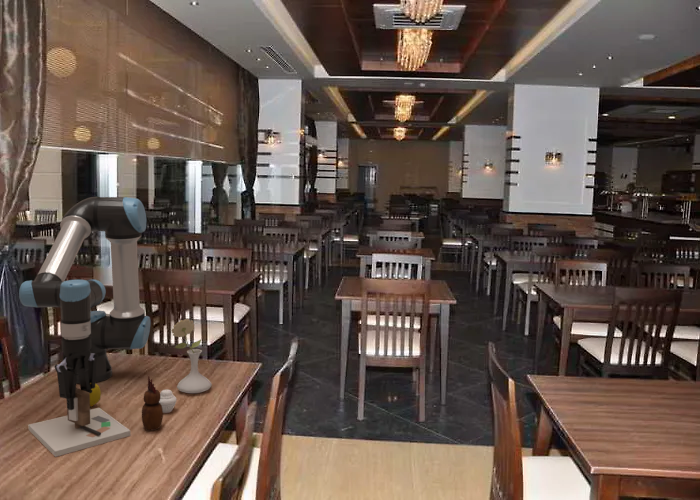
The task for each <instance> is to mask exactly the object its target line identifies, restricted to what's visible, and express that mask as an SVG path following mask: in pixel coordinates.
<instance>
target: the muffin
mask: <svg viewBox="0 0 700 500" xmlns="http://www.w3.org/2000/svg"><path fill="white" fill-rule="evenodd" d="M177 400H178V399H177V397H176V396H175V395H174V394H173V391H172V390H171V389H162V390H161V391H160V401H159V403H160V404H161V405H162V410H163V414H168V413H171V412H173V409H174V407H175V406H176V403H177Z"/></svg>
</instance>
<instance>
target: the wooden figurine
mask: <svg viewBox="0 0 700 500" xmlns="http://www.w3.org/2000/svg"><path fill="white" fill-rule="evenodd" d="M160 393H161V391H159V390H158V389H156V386H155V384H154V383H153V379H152V378H150V375H149V376H147V390H145V392H144V394H143V402H144V404H143V405H142V407H141V408H142V409H141V422H142V424H143V425H142V426H143V428H144V429H145V430H147V431H155V430H156V431H157V430H158V429H160V427H161V426H162V423H163V417H164V416H163V415H164V413H163V410H162V405H161V404H160V403H159V401H160Z"/></svg>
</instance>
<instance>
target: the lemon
mask: <svg viewBox="0 0 700 500" xmlns="http://www.w3.org/2000/svg"><path fill="white" fill-rule="evenodd" d="M90 384H91V383H90ZM91 390H92V393H90V408H91V407H94V405H96V404H97V403H99V401H100V400H101V398H102V397H101V395H102V391H101V388H100V386H99V385H98V384H97V382H95V388H94V389H93V388H92V389H91Z"/></svg>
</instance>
